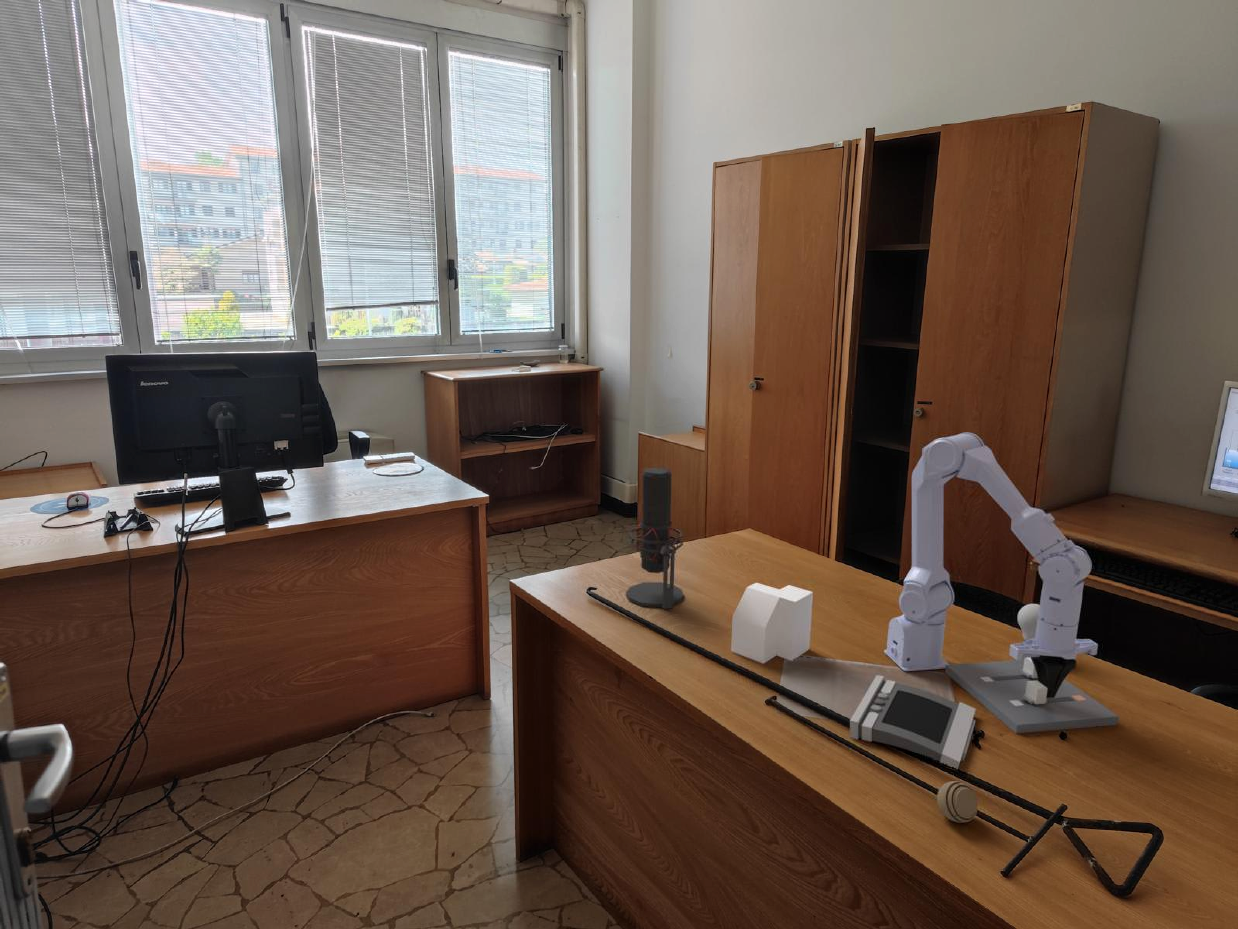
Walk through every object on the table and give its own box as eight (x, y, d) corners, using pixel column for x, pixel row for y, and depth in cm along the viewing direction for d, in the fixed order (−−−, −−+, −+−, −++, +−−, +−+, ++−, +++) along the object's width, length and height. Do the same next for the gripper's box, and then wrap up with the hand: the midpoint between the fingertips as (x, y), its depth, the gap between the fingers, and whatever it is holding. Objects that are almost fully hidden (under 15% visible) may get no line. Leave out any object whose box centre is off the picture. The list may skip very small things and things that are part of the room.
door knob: (935, 825, 98) (939, 792, 97) (934, 802, 103) (938, 770, 102) (977, 835, 96) (981, 801, 95) (974, 811, 101) (978, 778, 100)
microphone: (697, 594, 174) (701, 469, 168) (670, 614, 163) (673, 481, 156) (644, 581, 182) (646, 461, 175) (614, 600, 171) (615, 472, 164)
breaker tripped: (1032, 704, 124) (1034, 689, 123) (1021, 696, 126) (1023, 681, 126) (1048, 703, 124) (1050, 688, 124) (1037, 695, 127) (1040, 680, 126)
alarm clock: (876, 675, 131) (978, 694, 123) (876, 699, 132) (978, 720, 124) (849, 720, 117) (963, 745, 109) (850, 747, 118) (962, 774, 109)
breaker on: (1029, 678, 132) (1031, 664, 132) (1019, 671, 135) (1021, 657, 134) (1044, 677, 133) (1047, 663, 132) (1035, 670, 135) (1036, 656, 135)
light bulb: (1052, 661, 143) (1059, 612, 141) (1018, 658, 144) (1025, 609, 142) (1041, 647, 148) (1048, 600, 146) (1009, 644, 149) (1015, 597, 147)
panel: (1016, 733, 119) (1017, 724, 119) (945, 672, 138) (945, 664, 138) (1117, 724, 122) (1118, 716, 121) (1033, 666, 141) (1034, 658, 140)
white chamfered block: (809, 649, 147) (812, 592, 145) (778, 669, 139) (782, 609, 137) (762, 633, 154) (765, 578, 152) (731, 651, 146) (733, 593, 144)
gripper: (1034, 632, 118) (1023, 710, 121) (1116, 627, 120) (1104, 704, 123) (1005, 614, 125) (996, 688, 127) (1083, 609, 127) (1072, 682, 130)
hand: (1047, 695), depth 126 cm, fingers closed
